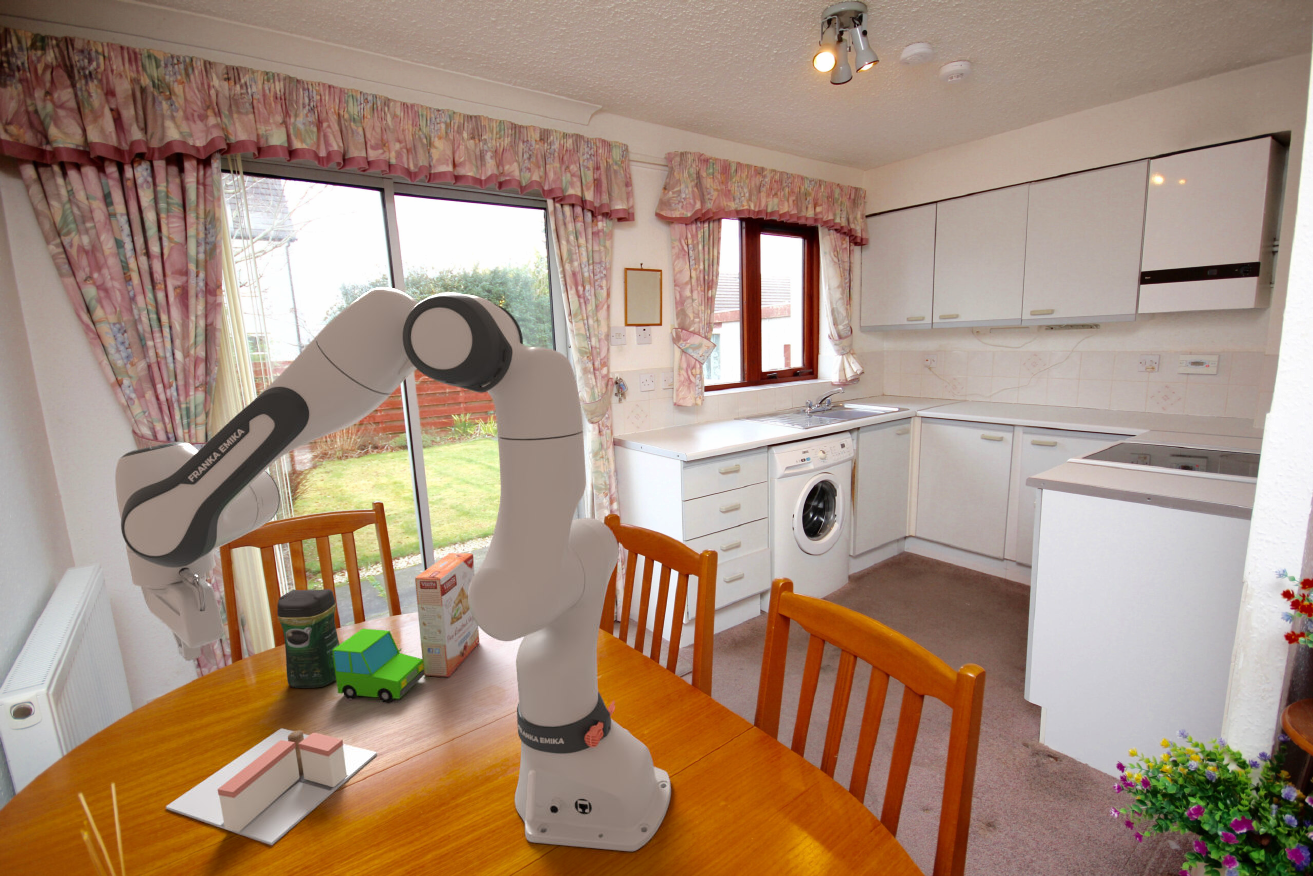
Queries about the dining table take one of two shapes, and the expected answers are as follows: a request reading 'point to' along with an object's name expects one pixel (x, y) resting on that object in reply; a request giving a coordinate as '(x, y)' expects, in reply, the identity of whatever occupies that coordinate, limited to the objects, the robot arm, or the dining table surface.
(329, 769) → the fixed fence panel
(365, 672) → the toy car
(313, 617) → the coffee jar
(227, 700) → the dining table surface
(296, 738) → the hinge post
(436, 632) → the cracker box
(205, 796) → the card
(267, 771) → the folding fence panel
